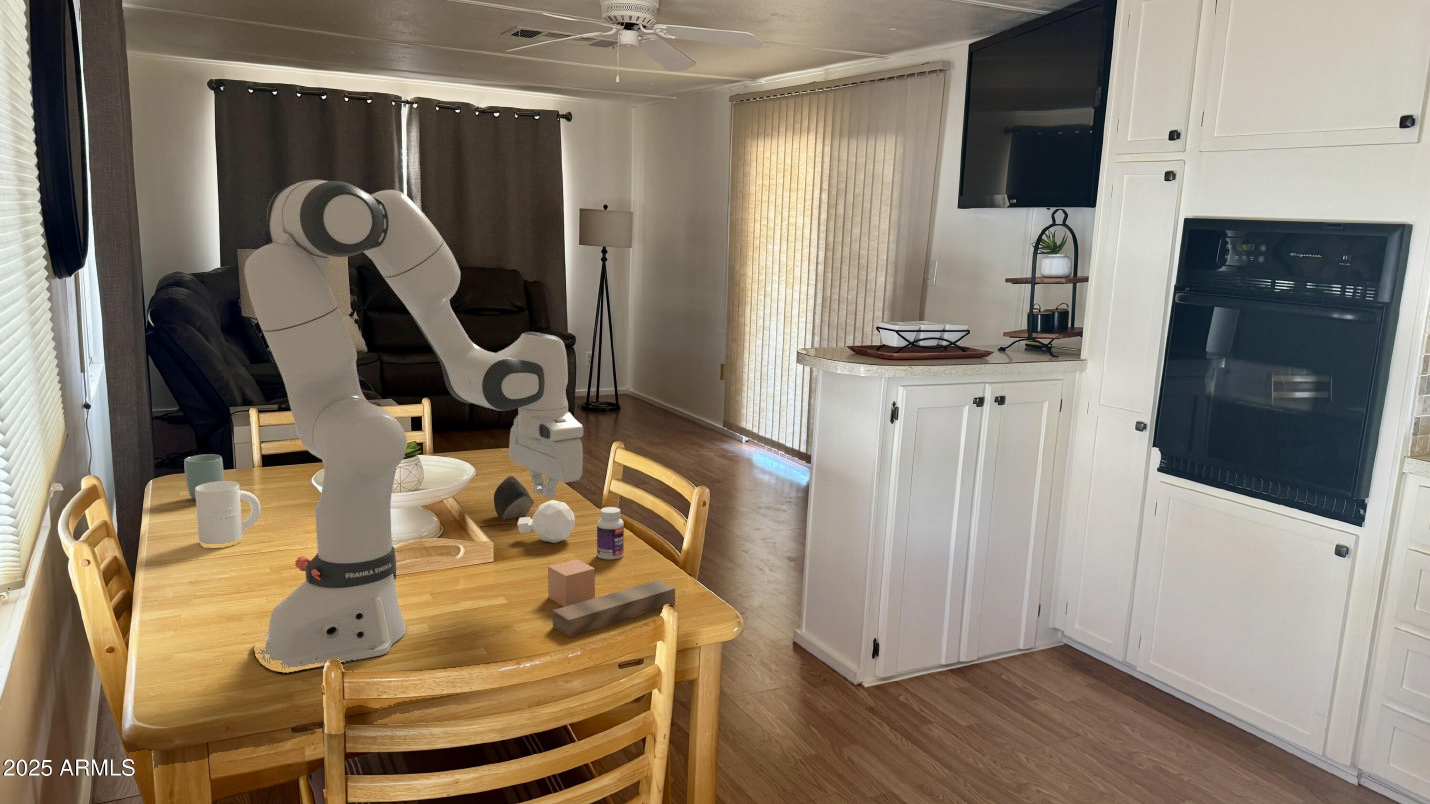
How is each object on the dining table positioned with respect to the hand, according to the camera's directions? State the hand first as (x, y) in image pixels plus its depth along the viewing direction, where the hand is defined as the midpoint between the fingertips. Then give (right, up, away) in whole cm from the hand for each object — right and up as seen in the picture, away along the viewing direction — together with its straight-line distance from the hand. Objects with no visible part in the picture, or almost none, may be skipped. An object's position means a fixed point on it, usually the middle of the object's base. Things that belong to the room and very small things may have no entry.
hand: (544, 495), depth 171 cm
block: (+6, -18, -3) cm, 19 cm away
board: (+14, -20, -10) cm, 26 cm away
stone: (-14, -9, +42) cm, 45 cm away
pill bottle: (+10, -14, +19) cm, 26 cm away
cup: (-90, -6, +51) cm, 103 cm away
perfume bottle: (-4, -12, +27) cm, 30 cm away
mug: (-69, -12, +23) cm, 74 cm away
